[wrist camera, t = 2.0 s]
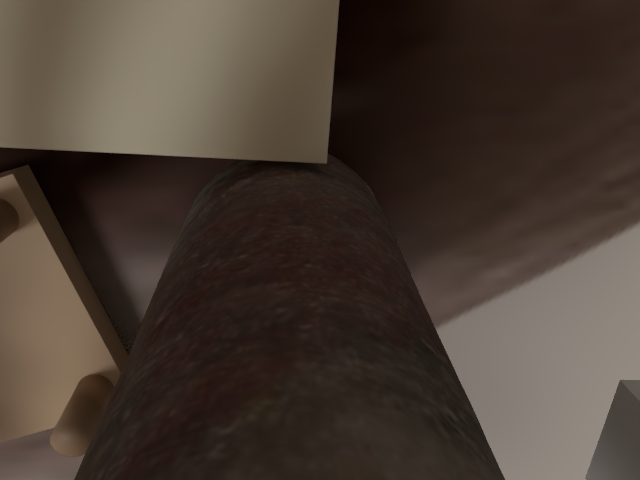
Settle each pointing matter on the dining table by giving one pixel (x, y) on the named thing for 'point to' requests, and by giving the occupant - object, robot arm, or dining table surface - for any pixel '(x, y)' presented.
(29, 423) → the upturned stool decor
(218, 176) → the brown wooden log
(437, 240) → the dining table surface
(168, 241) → the dining table surface
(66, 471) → the dining table surface
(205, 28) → the small wooden stool
